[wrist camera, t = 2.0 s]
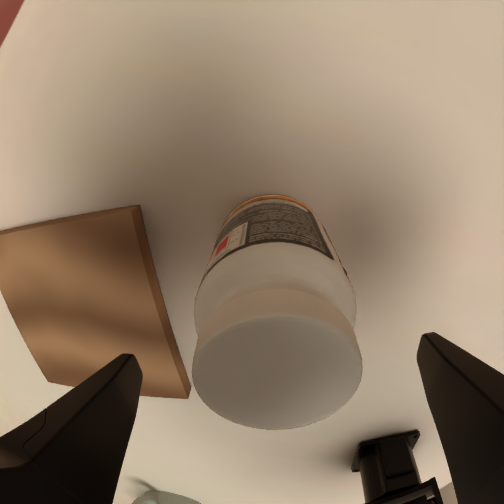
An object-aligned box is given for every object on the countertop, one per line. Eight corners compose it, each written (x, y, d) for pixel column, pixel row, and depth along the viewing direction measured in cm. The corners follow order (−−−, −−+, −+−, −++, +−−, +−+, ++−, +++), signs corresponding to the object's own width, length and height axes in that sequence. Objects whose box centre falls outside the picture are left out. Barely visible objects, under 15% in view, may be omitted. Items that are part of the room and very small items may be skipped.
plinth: (191, 387, 22) (188, 398, 21) (53, 373, 23) (48, 382, 22) (139, 204, 16) (131, 211, 15) (-9, 233, 18) (-18, 239, 16)
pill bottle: (200, 251, 17) (137, 385, 8) (264, 169, 15) (258, 244, 6) (279, 306, 18) (283, 455, 9) (346, 236, 16) (418, 365, 7)
